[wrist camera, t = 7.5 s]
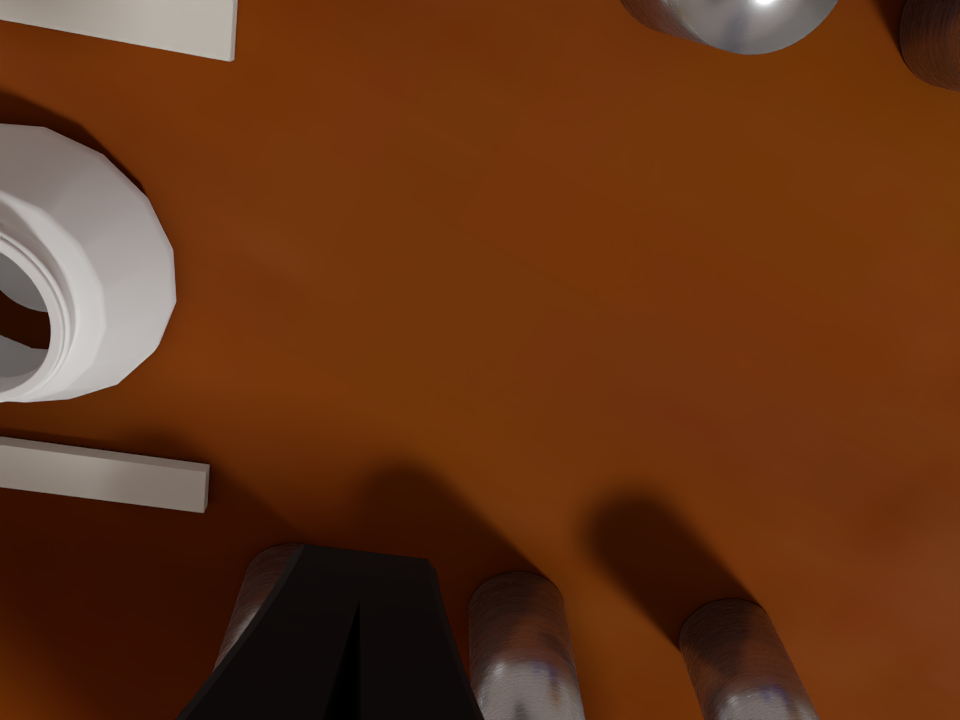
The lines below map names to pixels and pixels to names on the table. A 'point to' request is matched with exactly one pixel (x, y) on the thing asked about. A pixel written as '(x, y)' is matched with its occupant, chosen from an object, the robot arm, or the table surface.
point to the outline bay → (91, 472)
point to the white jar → (77, 266)
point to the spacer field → (718, 625)
